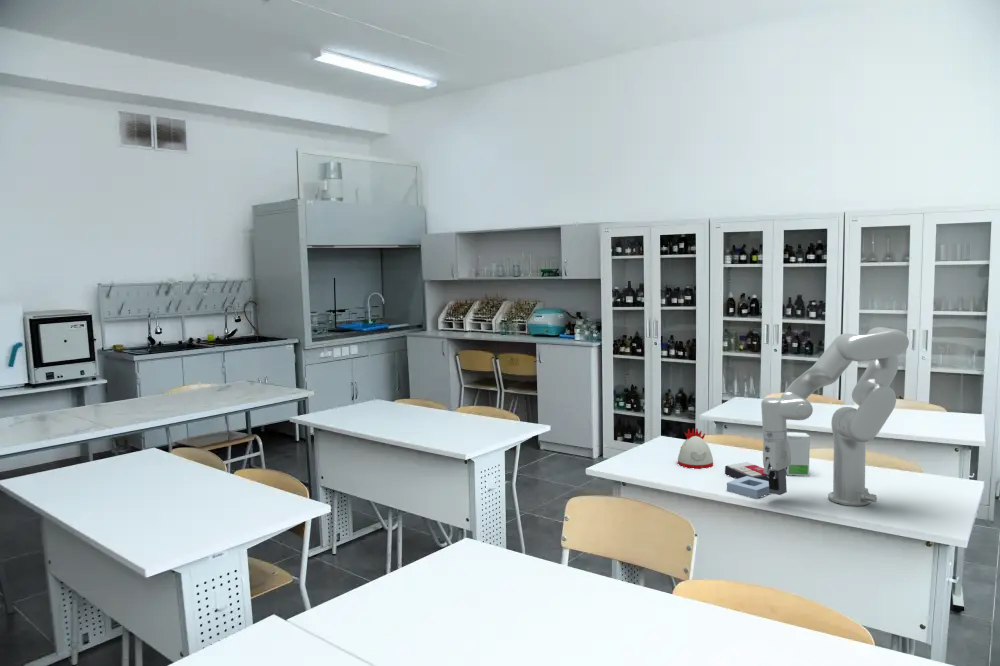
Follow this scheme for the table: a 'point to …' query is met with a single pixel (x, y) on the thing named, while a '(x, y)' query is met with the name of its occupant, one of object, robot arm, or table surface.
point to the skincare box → (799, 453)
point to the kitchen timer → (695, 452)
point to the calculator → (745, 471)
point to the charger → (780, 482)
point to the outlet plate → (749, 486)
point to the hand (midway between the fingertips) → (777, 487)
